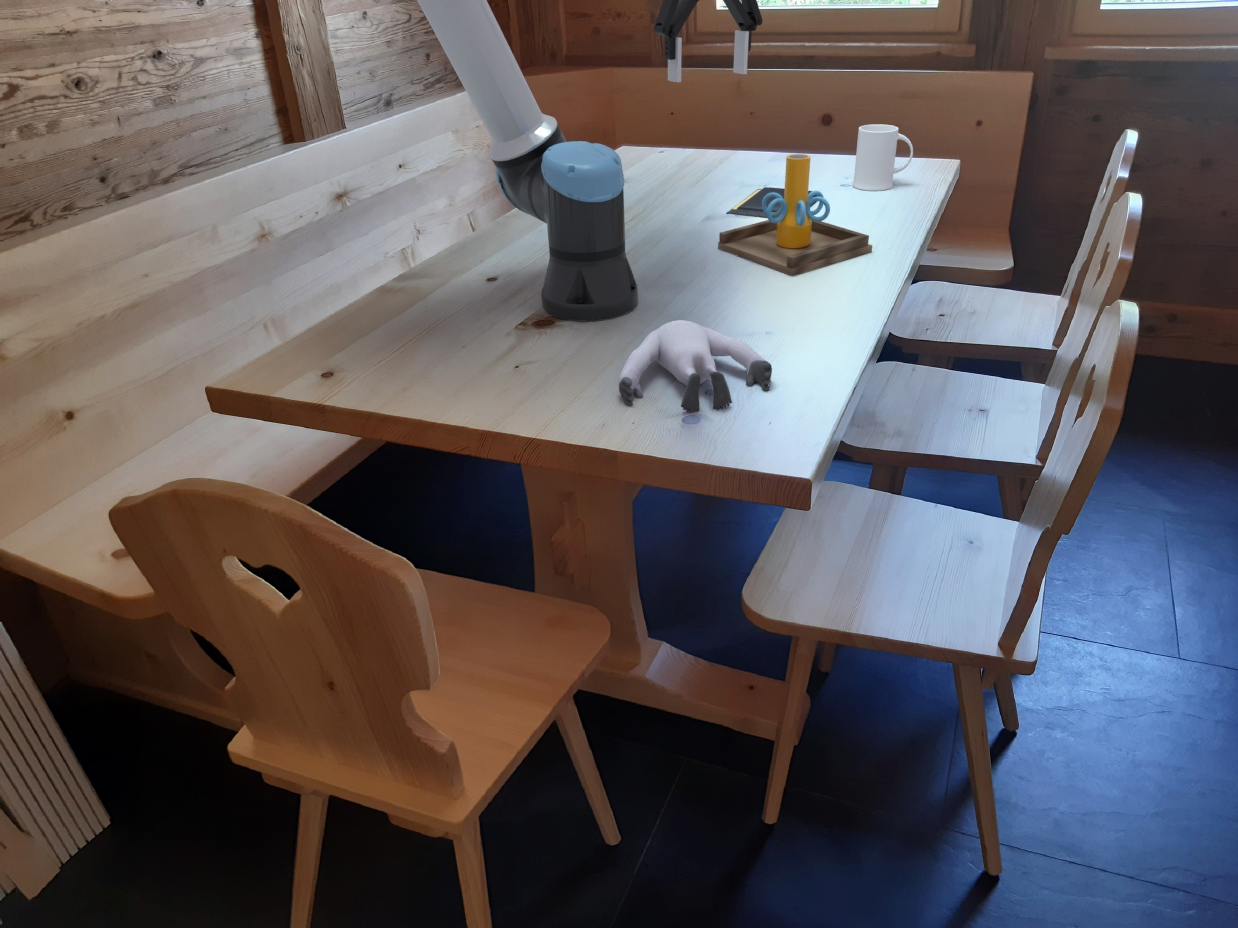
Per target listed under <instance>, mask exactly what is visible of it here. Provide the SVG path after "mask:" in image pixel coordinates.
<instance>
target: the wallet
mask: <svg viewBox="0 0 1238 928" xmlns="http://www.w3.org/2000/svg"><path fill="white" fill-rule="evenodd" d="M784 191H785V188H780V187H770V186H769V187H766V186H764V187H763V188H758V189H755V191H754V192H752V193H750V194H749V195H748V196H747V197H745V198H744V199H743V200H742V201H740V202H739V203H738V204H736V205H735V206H733V207H732V208H731V209H730V210H729V211H727V212H726V213H725V214H727V215H735V216H741V217H742V216H744V217H753V218H761V219H768V218H767V214H765V212H764V211H763V209H762V200H763V198H764V196H765V195H767V194H768V193H772V192H775V193H778V194H780V195H781V196H782V197H783V199H784ZM812 191H813V190H808V194H809V193H811V192H812ZM813 197H817V195H815V196H813ZM813 197H811V198H813ZM774 199H777V198H775V197H770V198H769V199H768V200H767V202H766V207H767V208H768V206H769V204H770V203H771V202H772V201H773V200H774ZM817 203H819V201H815V202H813V203H812V204H811V207H810V209H811V208H812V207H813V206H814V205H815V204H817ZM780 207H781V204H780V203H777V204H775V205H774V206H773V208H772V210H771V212H777V211H779V209H780ZM779 216H780V215H779ZM779 216H777V217H773V218H778V217H779Z"/></svg>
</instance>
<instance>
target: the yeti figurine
mask: <svg viewBox="0 0 1238 928" xmlns="http://www.w3.org/2000/svg"><path fill="white" fill-rule="evenodd" d="M713 357H730V358H732V360H734V361H735V362H736V363H738V364H740V365H741V366H743V367H744V368H745V369H746V371H747V372H746V377H745V385H746V386H747V387H752V386H753V385H754V382H755V383H757V384H758V385H759V386H760V387H761V388H762V391H764V392H768V391H770V385H769V384H770V383H771V382H772V381H771V379H772V373H773V368H772V364H771V363H770V362H769V361H767V360H766V359H765V358H764V357H762V355H760V354H759V353H757V351H755V350H754V349H753V347H751V346H750V345H749V344H748V343H747V342H745V341H743V340H742V339H737V338H732V337H729V336H727V335H724V334H721V333H719V332H718V331H716V330H713V329H711V328H709V327H706V326H702V325H700V324H699V323H696V322H693V321H691V320H682V319H678V320H677V319H676V320H672V321H669V322H667V323H666V322H665V323H664V324H662V325H661V326H660V327H658V328H656V329H654V330H653V331H650V332H649V333H648V334H647V335H646V337H645V338H644V340H643V341H642V342H641V344H640V345H639V346H638V347H637V348H635V349H634V350H632V352H631V353H630V354H629V356H628V358H627V359H626V361H625V363H624V365H623V368H622V370H621V372H620V375H619V378H618V391H619V393H620V395H621V397H622V399H623V403H624V404H625V405H626V406H627V407H632V406H633V403H634V402H633V401H634V397H633V395H634V396H635V397H636V398H637V399H644V395H643V392H642V388H641V385H640V378H641V376H642V374H643V373H644V372H645V370H646V369H648V367H649V366H650V363H653V362H657V363H659V365H660V366H661V367H662V368H664V369H666V371H668V372H669V373H671V374H672V375H673V376H674V377H675V379H677V381H678V382H680V383H681V384H683V385H685V389H684V393H683V397H682V399H681V403H680V407H681V408H682V410H683V411H685V412H688V413H693V412H695V413H698V412H700V396H699V395H700V394H699V393H700V385H701V384H703V383H704V382H706V381H708V380H711V383H712V389H713V396H712V399H713V400H712V409H713V410H723V409H727V408H728V407H730V405H731V404H732V403H733V401H732V396H731V392H730V387H729V385H728V383H727V380H726V377H725V375H724V374H723V373H722V372H720V371H717V370H716V362H715V359H714V358H713Z"/></svg>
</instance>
